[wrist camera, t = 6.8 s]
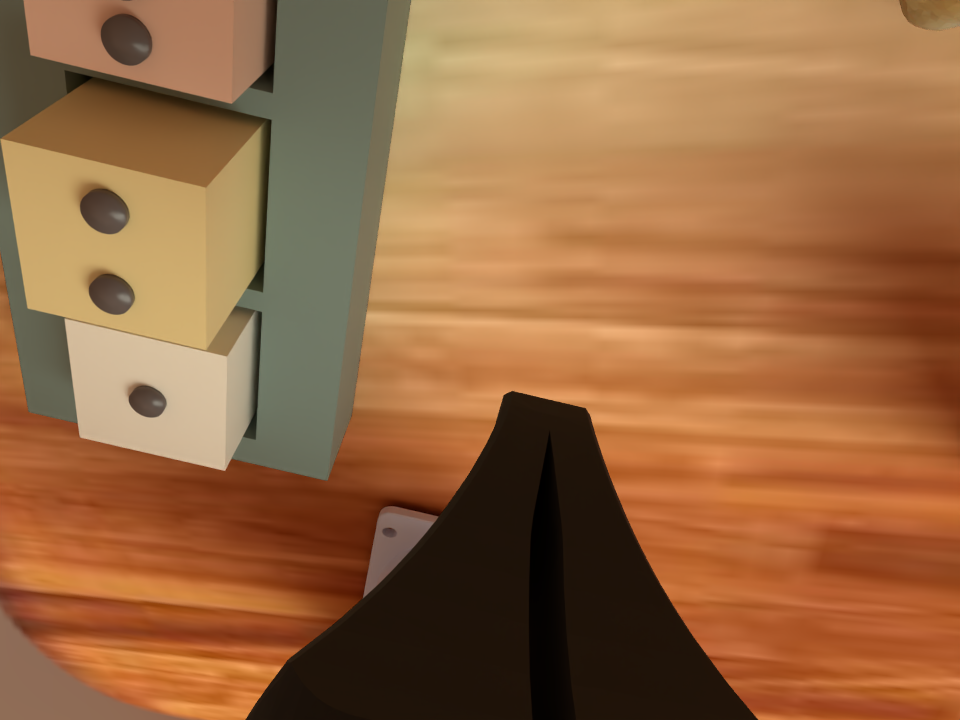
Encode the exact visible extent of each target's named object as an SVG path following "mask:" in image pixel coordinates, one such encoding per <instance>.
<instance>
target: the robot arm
mask: <svg viewBox="0 0 960 720" xmlns="http://www.w3.org/2000/svg"><path fill="white" fill-rule="evenodd" d="M389 528H392V529H389ZM246 720H758V719H757V718H756V717H755V716H754V714H753V713H752V712H751V711H750V710H749V708H748V707H747V706H746V705H745V704H744V702H743V701H742V700H741V699H740V698H739V696H738V695H737V694H736V693H735V692H734V690H733V689H732V688H731V687H730V686H729V684H728V683H727V682H726V681H725V679H724V678H723V677H722V675H721V674H720V672H719V671H718V670H717V668H716V667H715V666H714V664H713V663H712V662H711V660H710V659H709V657H708V656H707V655H706V653H705V652H704V651H703V649H702V648H701V647H700V645H699V644H698V643H697V641H696V640H695V638H694V637H693V636H692V634H691V633H690V631H689V629H688V628H687V626H686V625H685V623H684V622H683V620H682V619H681V617H680V616H679V614H678V613H677V611H676V609H675V608H674V606H673V605H672V603H671V601H670V599H669V598H668V596H667V594H666V593H665V591H664V589H663V588H662V586H661V584H660V583H659V581H658V579H657V577H656V575H655V574H654V572H653V570H652V568H651V566H650V564H649V562H648V560H647V559H646V557H645V555H644V553H643V551H642V549H641V547H640V545H639V543H638V540H637V538H636V536H635V534H634V532H633V530H632V528H631V526H630V524H629V521H628V519H627V517H626V515H625V512H624V510H623V508H622V505H621V503H620V500H619V498H618V496H617V493H616V491H615V488H614V486H613V483H612V481H611V478H610V476H609V473H608V470H607V467H606V465H605V462H604V459H603V456H602V453H601V450H600V447H599V444H598V441H597V438H596V435H595V431H594V428H593V425H592V421H591V417H590V414H589V413H588V411H587V410H586V408H582V407H578V406H574V405H570V404H565V403H561V402H557V401H552V400H548V399H544V398H540V397H535V396H531V395H527V394H523V393H518V392H514V391H511V392H509V393H507V394H505V395H504V396H503V400H502V403H501V407H500V410H499V414H498V417H497V421H496V424H495V427H494V429H493V431H492V433H491V435H490V438H489V440H488V442H487V444H486V445H485V447H484V449H483V451H482V452H481V454H480V456H479V458H478V459H477V461H476V463H475V465H474V466H473V468H472V470H471V471H470V473H469V475H468V476H467V478H466V479H465V481H464V482H463V484H462V485H461V486H460V488H459V489H458V491H457V492H456V494H455V495H454V496H453V498H452V499H451V501H450V502H449V504H448V505H447V507H446V508H445V509H444V511H443V512H442V513H441V514H440V516H434V515H430V514H426V513H421V512H417V511H413V510H408V509H404V508H400V507H395V506H388V507H384V508H383V509H381V511H380V513H379V517H378V521H377V526H376V531H375V537H374V542H373V547H372V552H371V558H370V563H369V568H368V574H367V579H366V584H365V590H364V595H363V599H362V600H360V601H359V602H358V603H357V604H356V605H355V606H354V607H353V608H352V609H351V610H349V611H348V612H347V613H346V614H345V615H344V616H343V617H342V618H340V619H339V620H338V621H337V622H336V623H335V624H333V625H332V626H331V627H330V628H328V629H327V630H326V631H324V632H323V633H322V634H321V635H319V636H318V637H317V638H315V639H314V640H313V641H311V642H310V643H309V644H308V645H306V646H305V647H304V648H302V649H301V650H300V651H299V652H297V653H296V654H295V655H293V656H292V657H291V658H289V659H288V660H287V662H286V663H285V665H284V666H283V667H282V669H281V670H280V671H279V672H278V674H277V675H276V676H275V678H274V679H273V680H272V682H271V683H270V684H269V686H268V687H267V689H266V690H265V691H264V693H263V694H262V696H261V697H260V698H259V700H258V701H257V703H256V704H255V706H254V707H253V709H252V710H251V712H250V713H249V715H248V717H247V718H246Z"/></svg>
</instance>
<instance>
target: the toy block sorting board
mask: <svg viewBox="0 0 960 720" xmlns="http://www.w3.org/2000/svg"><path fill="white" fill-rule="evenodd" d="M410 3H411V0H278V3H277V23H276V44H275V62H274V63H273V64H272V65H271V66H270V67H269V68H268V69H267V70H266V71H265V72H264V73H263V74H262V75H261V76H260V77H259V78H258V79H257V80H256V81H255V82H254V83H253V84H252V85H251V86H250V87H249V88H247V89H246V90H245V91H244V92H243V93H242V94H241V95H240V96H239V97H238V98H237V99H236V100H235V101H234V102H233V103H232V104H231V103H226V102H222V101H218V100H214V99H210V98H206V97H202V96H197V95H193V94H189V93H185V92H181V91H177V90H173V89H169V88H164V87H160V86H156V85H152V84H148V83H144V82H140V81H135V80H131V79H127V78H123V77H119V76H115V75H111V74H106V73H102V72H98V71H94V70H90V69H86V68H82V67H77V66H73V65H69V64H65V63H61V62H57V61H53V60H48V59H44V58H40V57H36V56H32V55H30V47H29V39H28V31H27V24H26V16H25V8H24V0H0V139H1V138H2V137H4V136H5V135H7V134H8V133H10V132H11V131H13V130H14V129H16V128H17V127H19V126H20V125H22V124H23V123H25V122H26V121H28V120H29V119H31V118H32V117H34V116H35V115H37V114H38V113H40V112H41V111H43V110H44V109H46V108H47V107H49V106H51V105H52V104H54V103H55V102H57V101H58V100H60V99H61V98H63V97H64V96H66V95H67V94H69V93H70V92H72V91H73V90H75V89H76V88H78V87H79V86H81V85H82V84H84V83H85V82H87V81H88V80H90V79H91V78H93V77H96V78H100V79H104V80H108V81H113V82H117V83H121V84H125V85H129V86H133V87H137V88H142V89H146V90H150V91H154V92H158V93H162V94H166V95H171V96H175V97H179V98H183V99H187V100H191V101H195V102H200V103H204V104H208V105H212V106H216V107H220V108H224V109H229V110H233V111H237V112H241V113H245V114H249V115H254V116H258V117H262V118H266V119H270V120H272V125H271V145H270V165H269V186H268V206H267V226H266V247H265V261H264V262H263V264H262V265H261V267H260V268H259V270H258V271H257V273H256V275H255V276H254V278H253V279H252V281H251V282H250V284H249V285H248V287H247V288H246V290H245V291H244V293H243V294H242V296H241V298H240V299H239V301H238V302H237V304H236V305H235V306H239V307H244V308H248V309H252V310H256V311H261V312H262V328H261V348H260V368H259V389H258V408H257V410H256V412H255V414H254V416H253V418H252V420H251V422H250V424H249V426H248V428H247V429H246V431H245V433H244V435H243V437H242V439H241V441H240V443H239V445H238V447H237V449H236V451H235V453H234V455H233V456H232V458H231V459H235V460H239V461H243V462H248V463H252V464H256V465H261V466H265V467H269V468H274V469H278V470H282V471H287V472H291V473H295V474H300V475H304V476H308V477H313V478H317V479H321V480H326V481H327V480H328V478H329V475H330V472H331V470H332V467H333V464H334V462H335V459H336V456H337V453H338V451H339V448H340V445H341V443H342V440H343V437H344V435H345V432H346V429H347V427H348V424H349V421H350V419H351V416H352V410H353V403H354V396H355V389H356V382H357V375H358V368H359V361H360V354H361V347H362V340H363V333H364V326H365V319H366V312H367V305H368V298H369V290H370V283H371V276H372V269H373V262H374V255H375V248H376V241H377V234H378V227H379V220H380V213H381V206H382V199H383V192H384V185H385V178H386V171H387V164H388V157H389V150H390V143H391V136H392V129H393V122H394V115H395V108H396V101H397V94H398V87H399V80H400V73H401V66H402V59H403V52H404V45H405V38H406V31H407V24H408V17H409V10H410ZM0 252H1V258H2V263H3V269H4V275H5V280H6V286H7V292H8V298H9V303H10V309H11V315H12V320H13V326H14V332H15V337H16V343H17V349H18V354H19V360H20V366H21V371H22V377H23V383H24V388H25V394H26V400H27V405H28V411H29V412H31V413H35V414H39V415H44V416H48V417H52V418H57V419H61V420H65V421H70V422H74V423H78V420H77V412H76V404H75V396H74V389H73V381H72V373H71V365H70V358H69V350H68V342H67V334H66V327H65V318H66V317H62V316H58V315H54V314H50V313H45V312H41V311H37V310H32V309H28V308H27V301H26V295H25V289H24V283H23V277H22V270H21V264H20V258H19V252H18V245H17V239H16V233H15V227H14V221H13V214H12V208H11V202H10V196H9V189H8V183H7V177H6V171H5V165H4V158H3V152H2V146H1V140H0Z"/></svg>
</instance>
